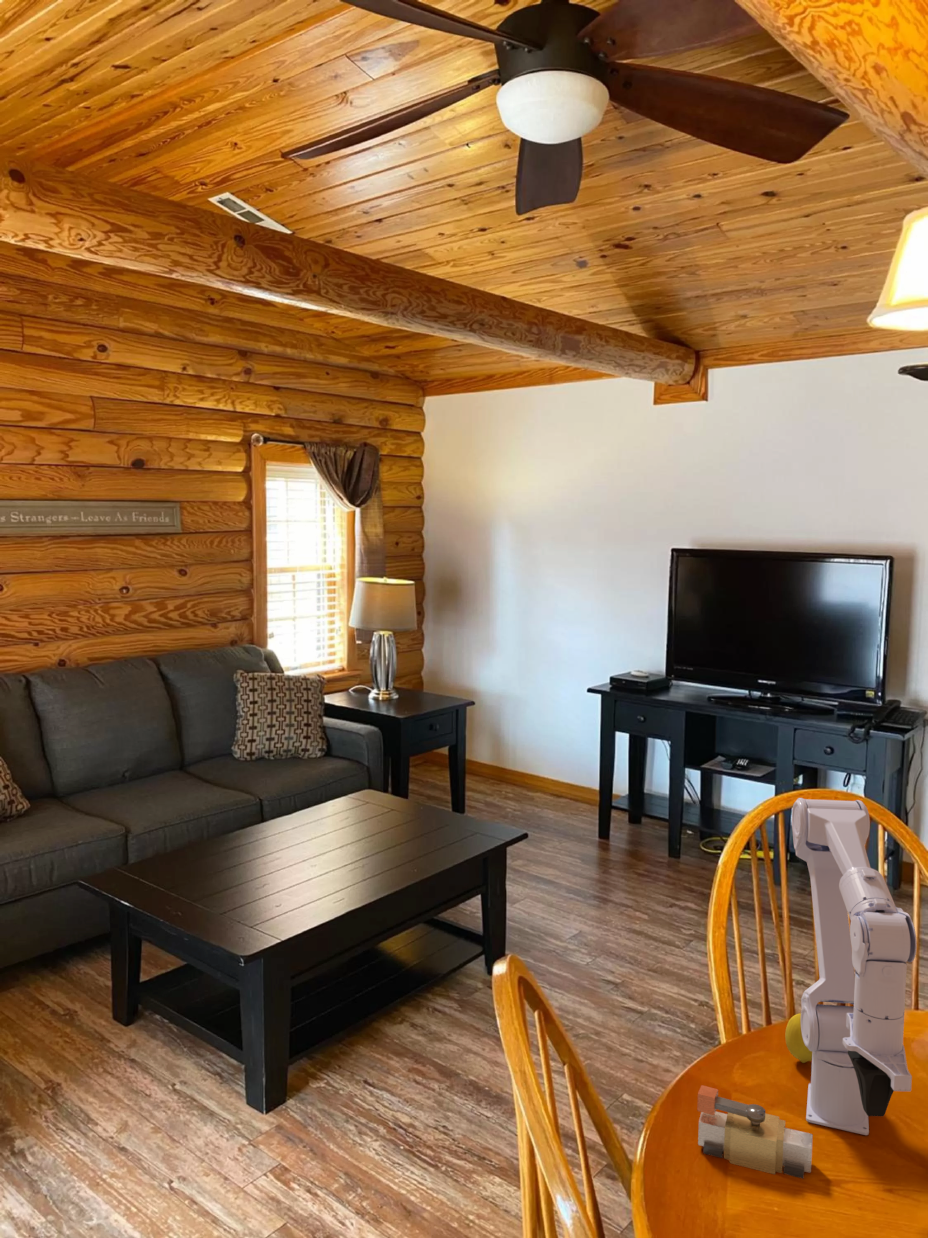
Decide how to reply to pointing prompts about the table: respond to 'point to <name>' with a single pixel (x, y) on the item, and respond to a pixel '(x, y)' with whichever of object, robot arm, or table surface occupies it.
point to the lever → (727, 1105)
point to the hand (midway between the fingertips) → (873, 1113)
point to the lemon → (797, 1040)
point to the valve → (756, 1143)
